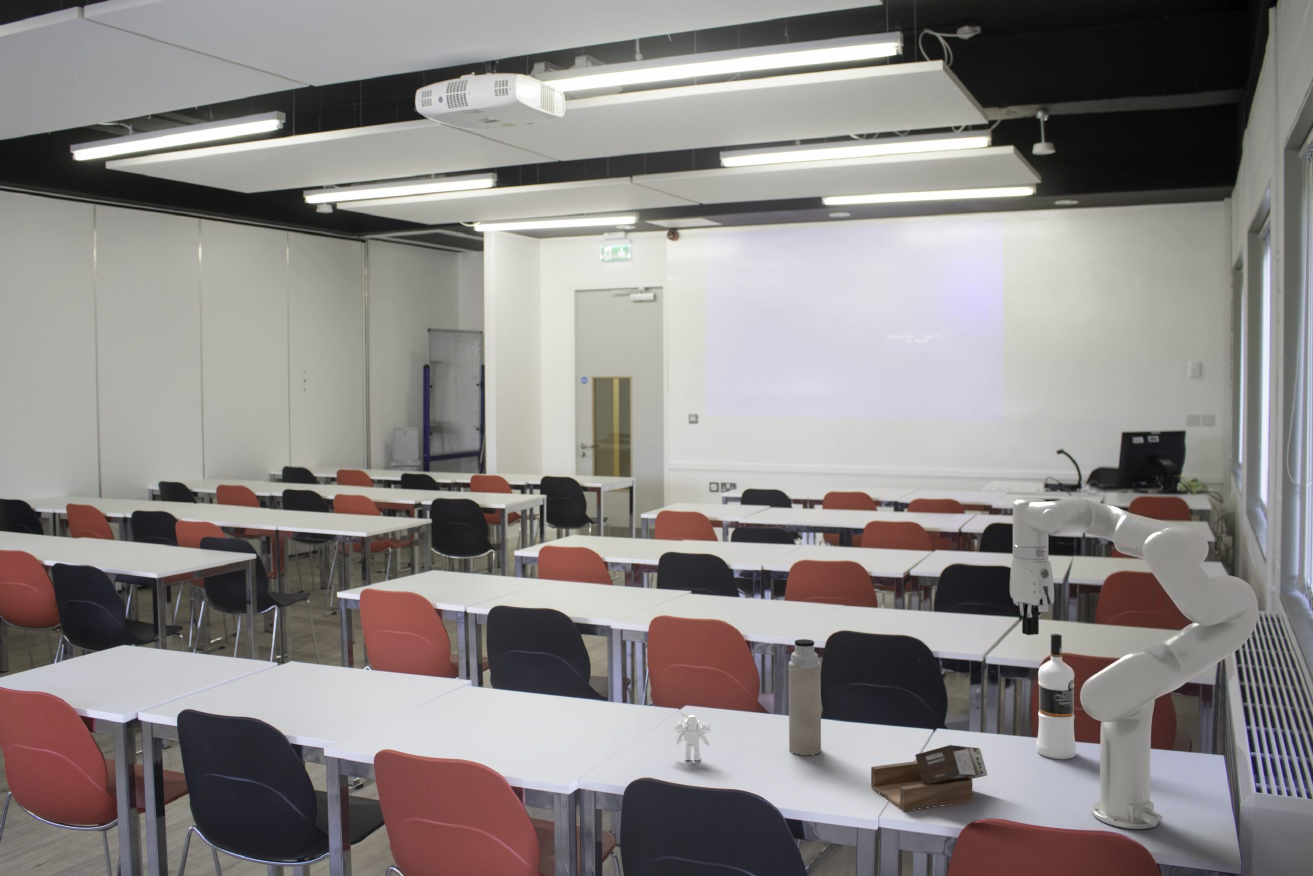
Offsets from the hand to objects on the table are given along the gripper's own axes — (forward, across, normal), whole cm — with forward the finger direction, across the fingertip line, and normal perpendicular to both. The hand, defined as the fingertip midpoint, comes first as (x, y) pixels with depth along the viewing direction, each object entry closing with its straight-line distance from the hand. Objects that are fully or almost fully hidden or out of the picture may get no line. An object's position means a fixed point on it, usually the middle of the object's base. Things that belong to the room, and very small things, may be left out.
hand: (1030, 633), depth 221 cm
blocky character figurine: (+35, +41, +67) cm, 86 cm away
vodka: (+35, +16, -20) cm, 44 cm away
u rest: (+35, +4, +26) cm, 44 cm away
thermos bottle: (+35, +38, +38) cm, 64 cm away
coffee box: (+31, +6, +13) cm, 34 cm away
